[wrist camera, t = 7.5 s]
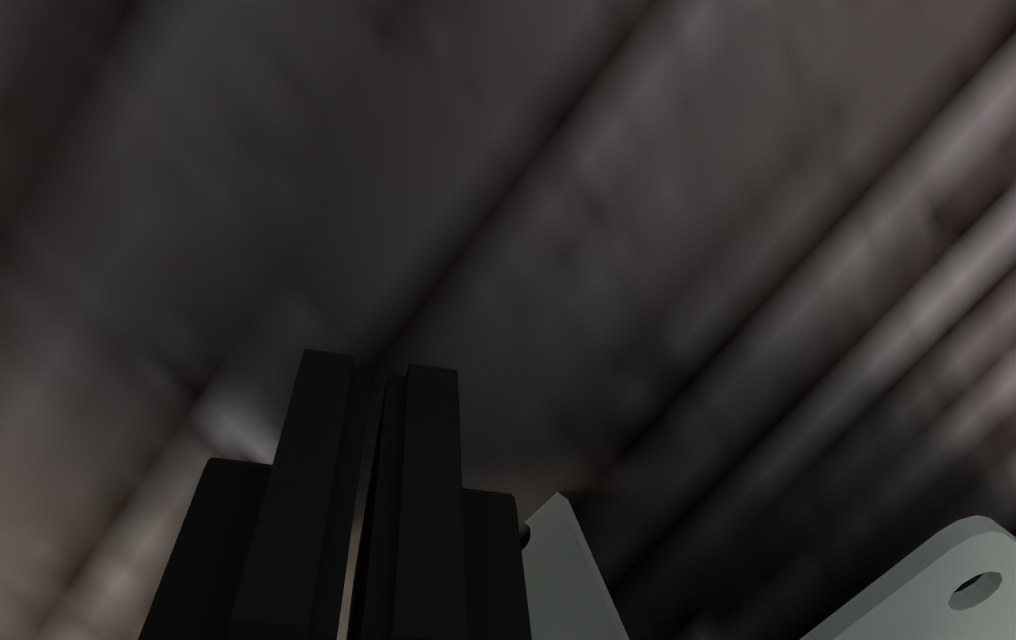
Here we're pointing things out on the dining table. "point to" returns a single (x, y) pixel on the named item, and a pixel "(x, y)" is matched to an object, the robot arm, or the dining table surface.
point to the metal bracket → (842, 636)
